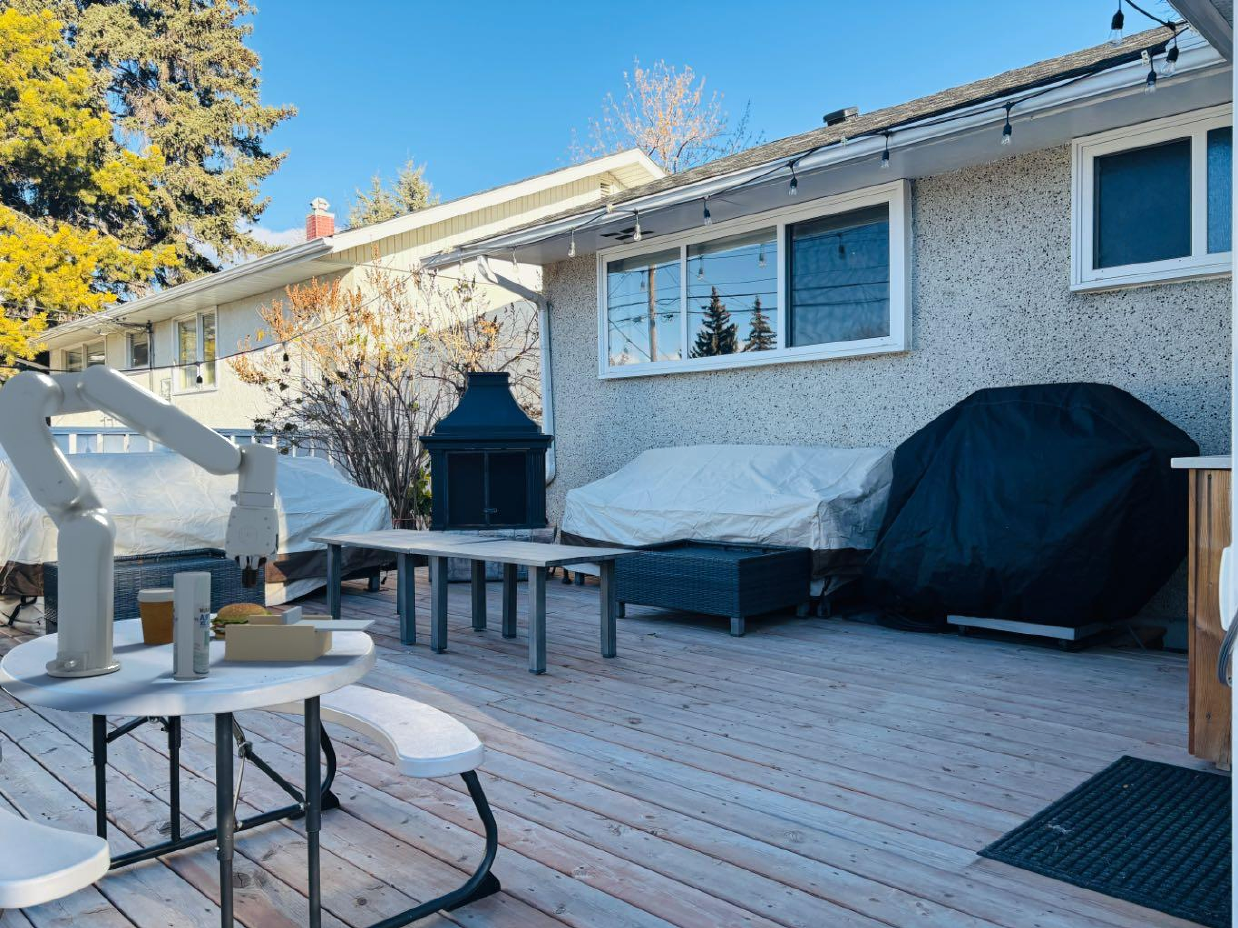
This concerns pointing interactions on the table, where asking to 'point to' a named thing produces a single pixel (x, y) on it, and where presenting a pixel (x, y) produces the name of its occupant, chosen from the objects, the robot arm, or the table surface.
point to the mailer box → (276, 640)
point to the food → (235, 616)
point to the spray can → (191, 625)
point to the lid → (324, 622)
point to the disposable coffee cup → (157, 615)
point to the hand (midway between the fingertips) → (249, 587)
